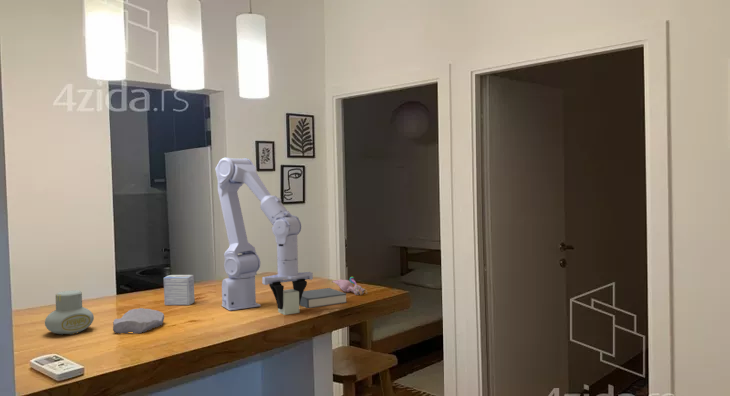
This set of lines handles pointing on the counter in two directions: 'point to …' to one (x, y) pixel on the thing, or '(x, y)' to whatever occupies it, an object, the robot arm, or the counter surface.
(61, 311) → the air freshener
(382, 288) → the counter surface
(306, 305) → the book
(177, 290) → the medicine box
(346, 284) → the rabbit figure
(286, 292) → the sage block
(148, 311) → the stone block
